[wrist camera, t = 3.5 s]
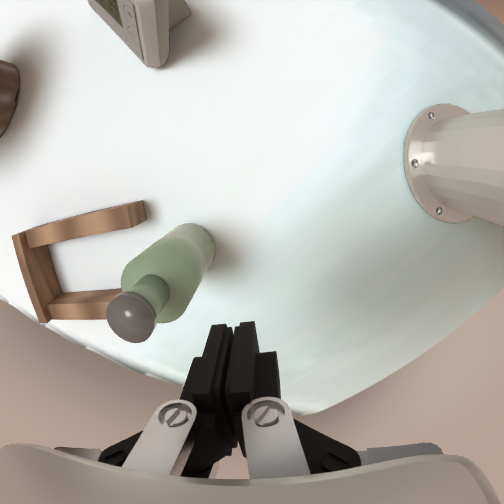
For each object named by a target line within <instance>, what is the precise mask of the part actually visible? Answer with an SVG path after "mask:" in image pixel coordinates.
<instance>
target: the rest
mask: <svg viewBox="0 0 504 504" xmlns="http://www.w3.org/2000/svg"><path fill="white" fill-rule="evenodd" d="M145 220H146V215H145V210H144V205H143V200H142V201H137V202H133V203H128V204H123V205H119V206H114V207H110V208H106V209H101V210H97V211H93V212H89V213H85V214H81V215H77V216H73V217H69V218H66V219H62V220H58V221H54V222H51V223H47V224H44V225H40V226H37V227H34V228H31V229H28V230H26V231H23V232H21V233H18V234H16V235H13V236H12V239H13V243H14V247H15V251H16V255H17V258H18V262H19V265H20V269H21V272H22V275H23V278H24V281H25V284H26V287H27V290H28V293H29V296H30V299H31V301H32V304H33V307H34V309H35V312H36V314H37V317H38V319H39V322H40V323H48V322H49V321H50V320H52V319H58V320H99V319H107V317H106V310H107V306H108V304H109V303H110V302H111V301H112V300H113V299H114V298H115V297H116V296H117V295H118V294H120V293H122V289H109V290H96V291H83V292H68V293H61V290H60V287H59V284H58V281H57V278H56V275H55V271H54V268H53V265H52V261H51V258H50V254H49V250H48V246H47V244H51V243H56V242H60V241H65V240H70V239H75V238H80V237H85V236H90V235H95V234H100V233H105V232H110V231H116V230H121V229H127V228H132V227H134V226H136V225H137V224H139V223H141V222H143V221H145Z"/></svg>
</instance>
